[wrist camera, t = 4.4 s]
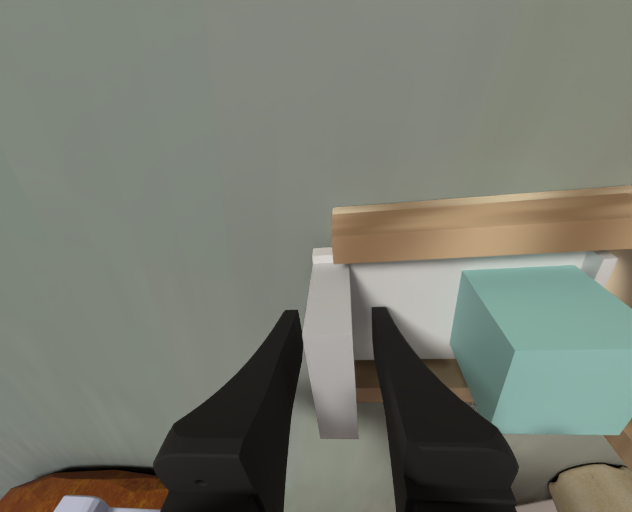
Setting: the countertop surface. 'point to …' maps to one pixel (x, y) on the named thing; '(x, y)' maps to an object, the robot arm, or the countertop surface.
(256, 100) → the countertop surface
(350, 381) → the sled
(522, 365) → the block
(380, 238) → the wooden frame
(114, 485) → the bread
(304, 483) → the countertop surface
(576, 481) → the flower pot
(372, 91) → the countertop surface
